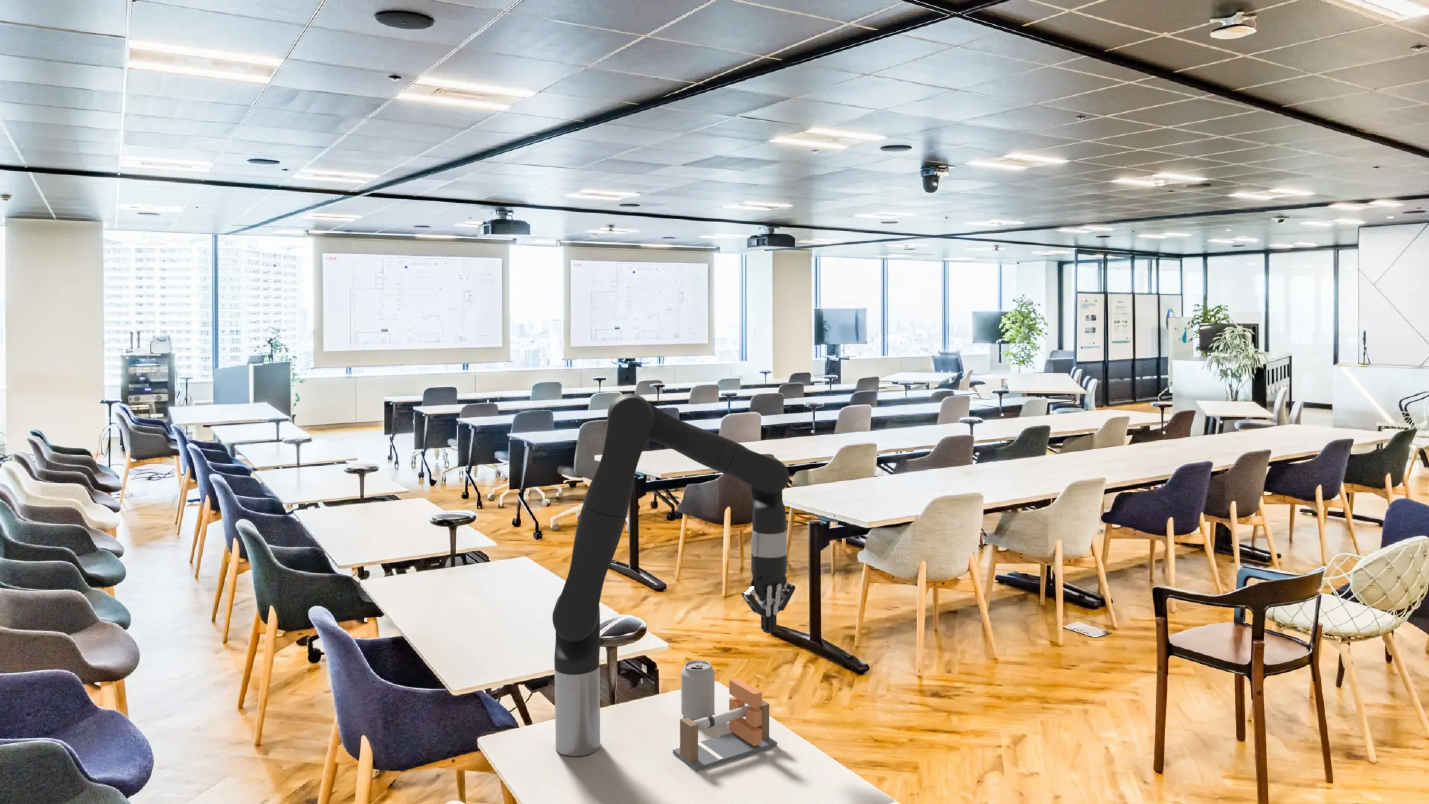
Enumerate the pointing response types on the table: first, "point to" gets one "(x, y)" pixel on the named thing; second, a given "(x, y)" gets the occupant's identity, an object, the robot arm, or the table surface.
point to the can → (697, 689)
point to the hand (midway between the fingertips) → (768, 631)
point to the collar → (753, 715)
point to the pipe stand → (719, 740)
